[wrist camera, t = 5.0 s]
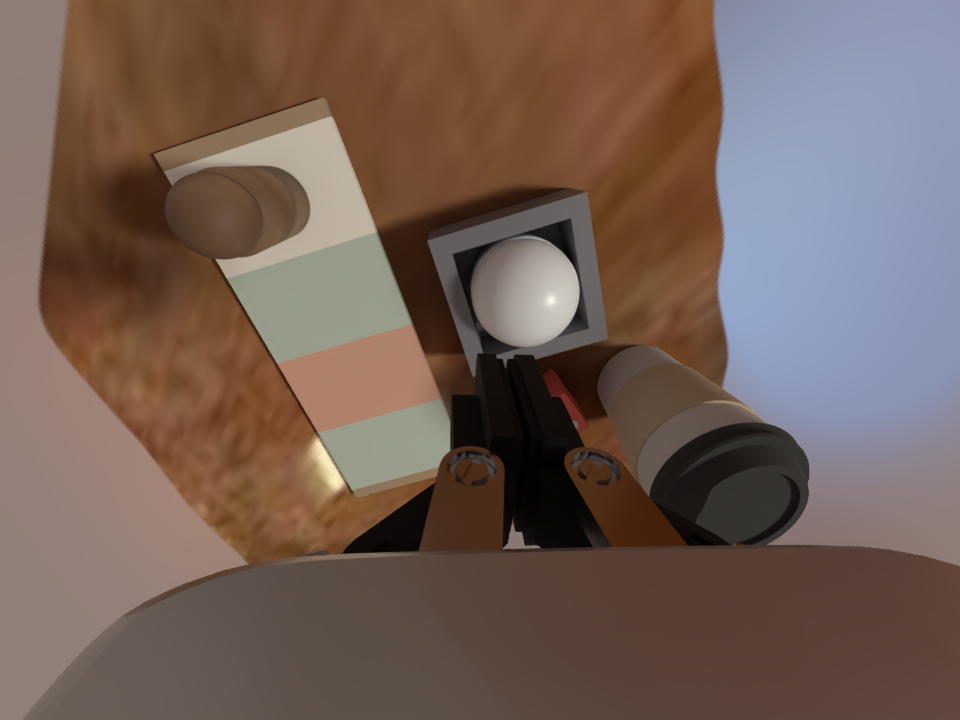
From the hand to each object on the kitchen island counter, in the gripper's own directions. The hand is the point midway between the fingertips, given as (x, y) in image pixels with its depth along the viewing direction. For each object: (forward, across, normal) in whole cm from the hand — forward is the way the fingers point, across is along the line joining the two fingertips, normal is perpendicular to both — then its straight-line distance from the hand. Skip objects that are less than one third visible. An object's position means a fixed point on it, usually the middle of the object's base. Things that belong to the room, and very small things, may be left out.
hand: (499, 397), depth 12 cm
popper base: (+19, -4, +1) cm, 19 cm away
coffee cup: (+19, -15, +10) cm, 26 cm away
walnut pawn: (+18, +13, -3) cm, 23 cm away
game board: (+19, +9, +7) cm, 22 cm away
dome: (+18, -4, +1) cm, 19 cm away
